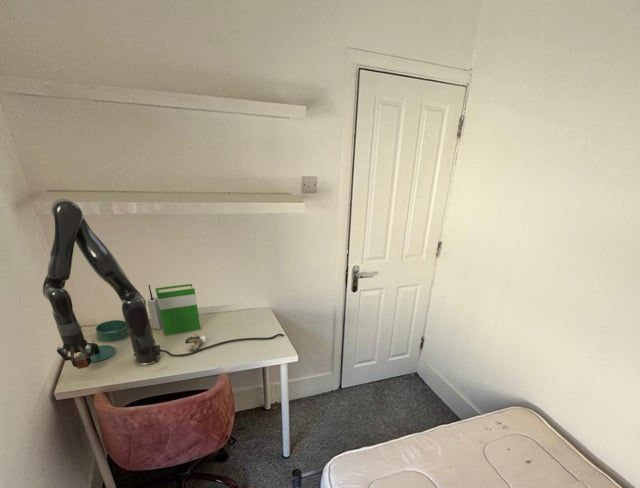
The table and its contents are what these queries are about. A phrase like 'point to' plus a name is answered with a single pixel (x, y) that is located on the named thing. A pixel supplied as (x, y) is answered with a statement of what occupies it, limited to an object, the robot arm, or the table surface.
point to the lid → (101, 352)
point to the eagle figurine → (197, 341)
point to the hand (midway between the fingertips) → (83, 365)
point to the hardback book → (178, 308)
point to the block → (81, 362)
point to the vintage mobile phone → (154, 312)
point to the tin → (110, 327)
